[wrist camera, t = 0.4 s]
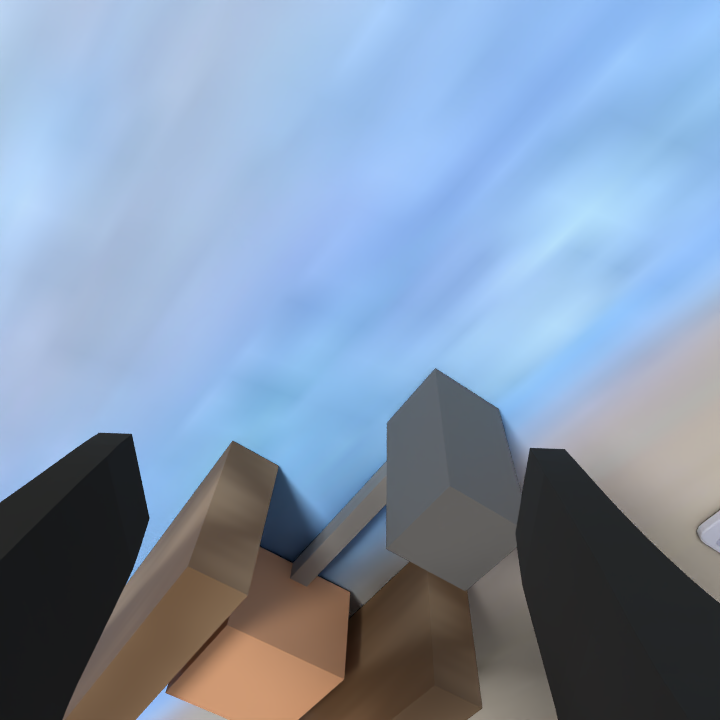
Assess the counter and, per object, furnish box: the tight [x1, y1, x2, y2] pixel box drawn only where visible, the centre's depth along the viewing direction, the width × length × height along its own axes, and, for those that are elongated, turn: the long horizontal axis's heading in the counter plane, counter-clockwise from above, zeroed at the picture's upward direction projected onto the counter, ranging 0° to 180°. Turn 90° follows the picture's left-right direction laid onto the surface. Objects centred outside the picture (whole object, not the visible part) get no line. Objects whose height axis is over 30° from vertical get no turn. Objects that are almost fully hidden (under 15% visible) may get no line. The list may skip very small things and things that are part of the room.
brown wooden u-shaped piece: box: [63, 441, 482, 720], centre depth 25 cm, size 11×11×6 cm
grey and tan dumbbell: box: [166, 368, 522, 720], centre depth 23 cm, size 5×16×6 cm, turn 145°
